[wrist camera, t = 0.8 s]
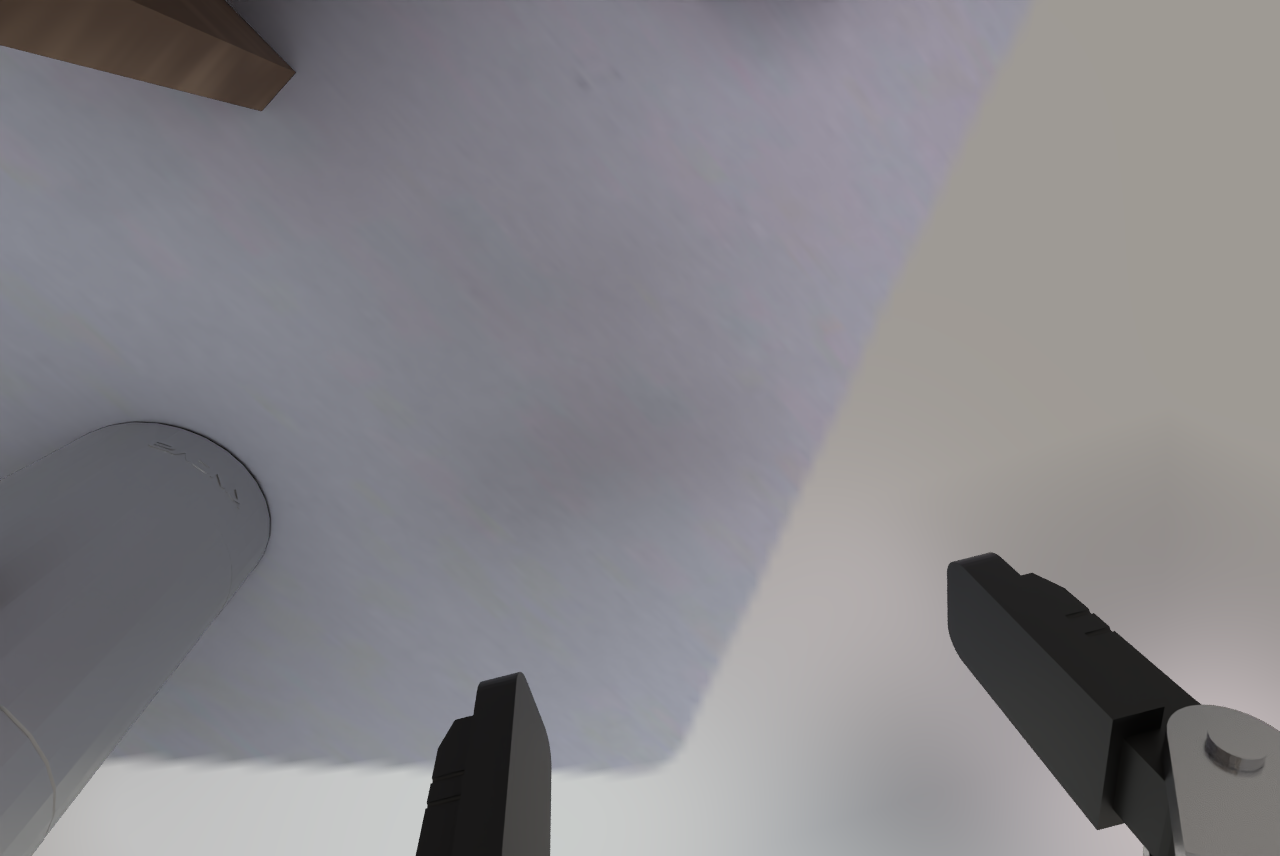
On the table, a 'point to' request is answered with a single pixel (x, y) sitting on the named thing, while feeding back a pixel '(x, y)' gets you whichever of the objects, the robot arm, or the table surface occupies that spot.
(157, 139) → the table surface
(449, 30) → the table surface
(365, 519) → the table surface
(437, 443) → the table surface
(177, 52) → the walnut rack
